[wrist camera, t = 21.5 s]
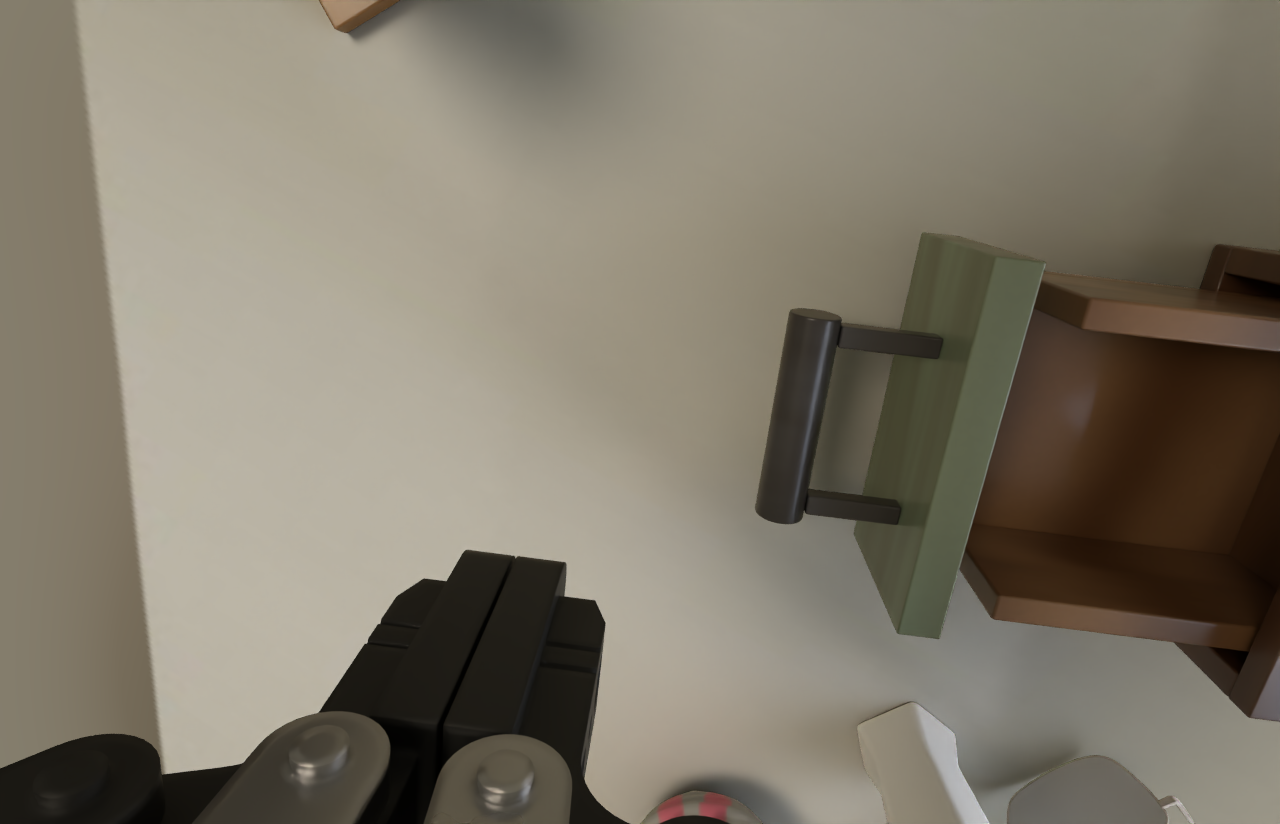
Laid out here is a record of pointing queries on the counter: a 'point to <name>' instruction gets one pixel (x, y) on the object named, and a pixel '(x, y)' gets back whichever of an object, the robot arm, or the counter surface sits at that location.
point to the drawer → (1053, 449)
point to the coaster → (353, 12)
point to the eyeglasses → (1089, 796)
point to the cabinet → (1276, 664)
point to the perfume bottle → (917, 769)
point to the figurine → (702, 808)
